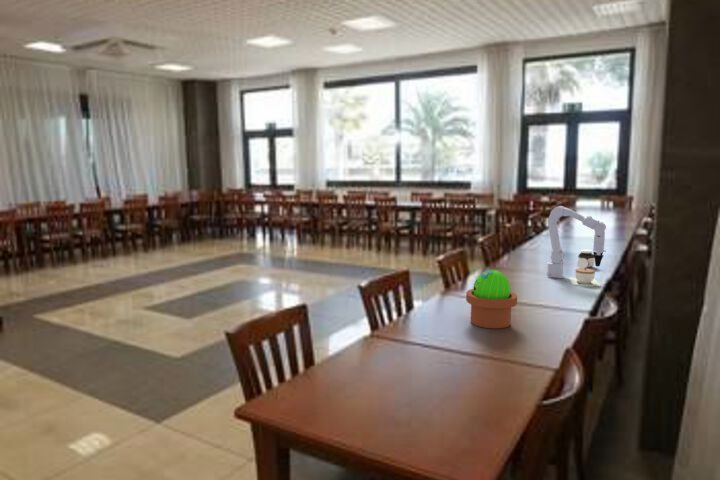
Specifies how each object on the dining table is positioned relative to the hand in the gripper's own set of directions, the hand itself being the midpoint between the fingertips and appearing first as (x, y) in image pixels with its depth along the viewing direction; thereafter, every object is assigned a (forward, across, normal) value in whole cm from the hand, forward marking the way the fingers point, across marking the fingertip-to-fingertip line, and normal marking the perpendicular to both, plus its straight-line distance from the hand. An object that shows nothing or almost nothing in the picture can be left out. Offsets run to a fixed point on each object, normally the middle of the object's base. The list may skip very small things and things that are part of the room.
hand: (597, 265), depth 318 cm
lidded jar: (+10, -8, +7) cm, 15 cm away
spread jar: (+10, +41, +6) cm, 43 cm away
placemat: (+10, -5, +7) cm, 13 cm away
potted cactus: (+10, -108, +46) cm, 118 cm away
